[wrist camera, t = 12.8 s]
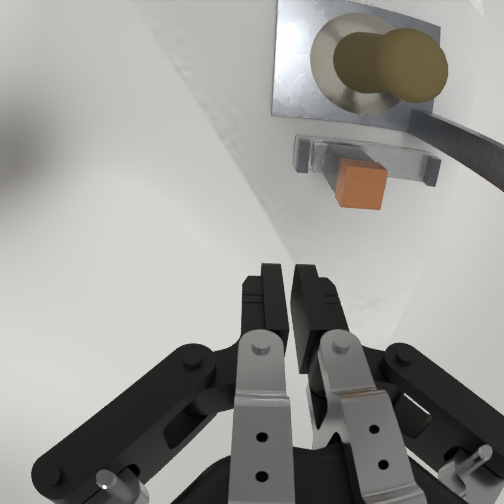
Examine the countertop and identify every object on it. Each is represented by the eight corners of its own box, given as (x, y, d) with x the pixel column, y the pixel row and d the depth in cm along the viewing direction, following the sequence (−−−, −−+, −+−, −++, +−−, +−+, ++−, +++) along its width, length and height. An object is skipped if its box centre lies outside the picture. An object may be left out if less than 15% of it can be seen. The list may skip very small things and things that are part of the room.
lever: (311, 171, 30) (329, 206, 23) (314, 139, 28) (335, 164, 22) (360, 175, 30) (390, 210, 23) (365, 144, 28) (398, 172, 22)
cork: (334, 26, 22) (381, 8, 13) (396, 39, 23) (464, 36, 13) (330, 89, 26) (374, 104, 16) (391, 98, 26) (456, 121, 16)
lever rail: (293, 163, 31) (296, 172, 29) (295, 134, 30) (299, 141, 28) (423, 177, 32) (435, 186, 30) (429, 152, 30) (441, 160, 28)
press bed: (271, 113, 29) (297, 173, 14) (277, -5, 22) (312, -84, 7) (421, 132, 29) (538, 206, 14) (433, 27, 23) (566, 31, 8)
